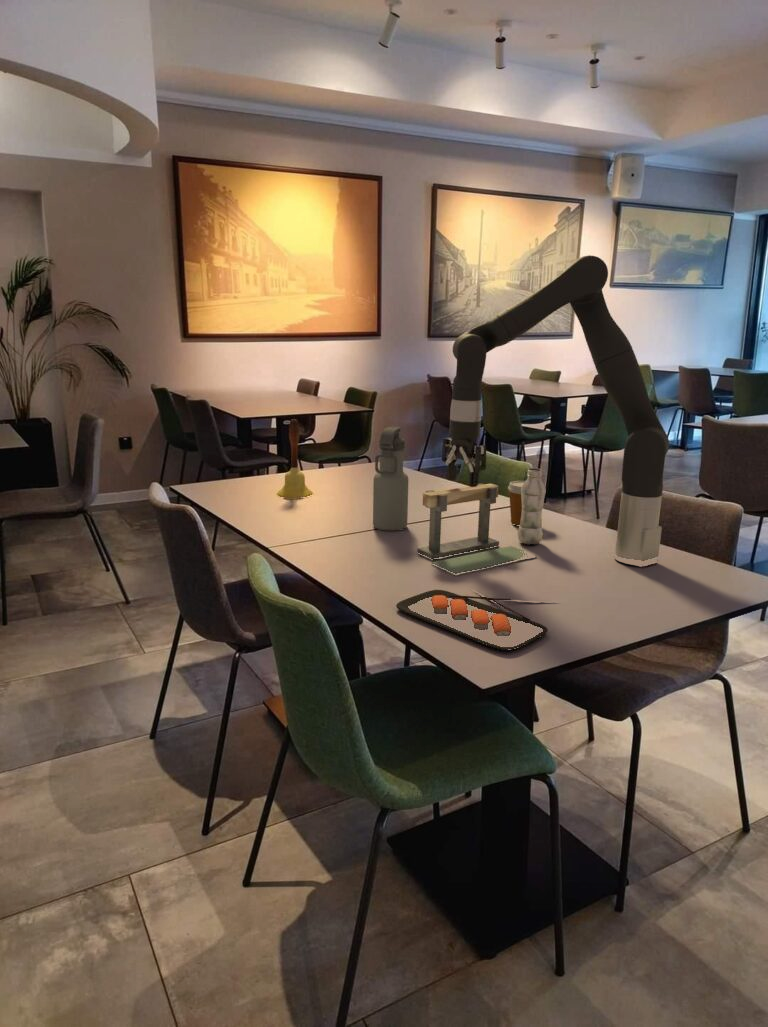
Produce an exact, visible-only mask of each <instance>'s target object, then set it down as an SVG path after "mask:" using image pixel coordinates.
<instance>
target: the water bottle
mask: <svg viewBox="0 0 768 1027" xmlns="http://www.w3.org/2000/svg"><path fill="white" fill-rule="evenodd" d="M400 433H401V427H399V426H388V427H385V428H383V430H382V431H381V434H380V438H379V439H378V442H379V448H378V451H379V454H377V455H376V456H375V459H374V460H375V462H374V469H375V472H376V473H375V474H374V475H373V482H372V484H373V485H372V486H373V492H372V496H373V498H372V499H373V500H372V525H373V527H374V528H375V529H376V530H377V529H378V530H379V529H381V530H380V531H384V530H398V531H402V530H404V529H406V528H407V527H408V515H409V514H408V512H409V511H408V509H409V476H408V474H407V473H406V472H404V451H405V439H404V438H403V437H400ZM401 529H402V530H401Z"/></svg>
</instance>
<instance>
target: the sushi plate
mask: <svg viewBox="0 0 768 1027" xmlns="http://www.w3.org/2000/svg"><path fill="white" fill-rule="evenodd" d="M429 597H432V599H431V601H432V605H433V608H434V613H435V614H447V607H449V605H448V600H447V598H452V599H453V600H451V601H450V606H451V615H452V618H453V619H454V620H466V617H468V610H467V606H466V604H468V605H471V606H474V607H477V608H478V609H481V610H473V611H471V618H472V621H473V623H474V628H475V629H479V630H485V629H486V630H487V629H488V623H489V622H490V620H489V617H488V614H487V612H486V611H488V612H491V613H492V612H493V613H496V614H493V615H492V616H491V618H490V619H491V620H492V626H493V629H494V633H495V634H496V635H497V636H509V635H510V633H511V626H510V623H509V620H508V618H507V617H510V618H513V619H516V620H518V621H523V622H525V623H530V624H532V625H534V626H537V627H540V628H542V629H543V632H541V633H539V634H538V635H536V636H535V637H533V638H531V639H529V640H527V641H525V642H524V643H521V644H519V645H517V646H514V647H500V646H497V645H494V644H490V643H488V642H485V641H482V640H480V639H478V638H475V637H472V636H470V635H468V634H466V633H463V632H461V631H458V630H456V629H454V628H451V627H449V626H447V625H444V624H442V623H440V622H437V621H435V620H432V619H430V618H427V617H424V616H422V615H420V614H418V613H416V612H413V611H411V610H410V609H409V608H408V606H410V605H412V604H415V603H417V602H418V601H420V600H423V599H425V598H429ZM487 597H488V596H487ZM487 597H481V596H472V595H471V596H470V595H460V594H456V593H455V592H451V591H448V590H443V589H433V590H427V591H425V592H422V593H419V594H415V595H414V596H411V597H408V598H405V599H404V600H401V601H399V602H397V603H396V605H395V608H397V610H399V611H401V612H403V613H406V614H407V615H410V616H413V617H414V618H417V619H420V620H422V621H425V622H426V623H428V624H429V623H430V624H431V625H432V624H433V625H434V626H437V627H439V628H441V629H444V630H447V631H449V632H452V633H454V632H455V634H456V633H458V634H457V635H459V634H461V635H463V636H462V637H464V636H466V637H468V638H467V639H469V638H470V640H471V639H474V640H476V641H479V642H481V643H484V644H487V645H489V646H492V647H495V648H498V649H497V650H499V649H503V650H508V649H514V648H517V647H520V646H522V645H524V644H527V643H529V642H531V641H533V640H535V639H537V638H539V637H540V636H542V635H544V634H545V633H546V632H547V633H548V628H547V627H546V626H545V625H543V624H541V623H538V622H536V621H534V620H531V619H530V618H528V617H527V616H524V615H523V614H521V613H519V612H517V611H515V610H514V609H511V608H510V607H507V606H506V605H504V604H502V603H500V602H498V601H499V600H511V599H512V598H503V597H502V598H497V597H489V598H487ZM474 599H476V600H474ZM477 599H478V600H487V601H489V600H493V601H494V602H496V603H497V604H499V605H500V606H499V605H498V606H499V607H501V606H502V607H501V608H503V607H504V608H503V609H505V610H502V609H500V608H497V607H495V606H491V605H488V604H485V603H482V602H480V601H477ZM497 604H496V605H497ZM506 610H507V611H506ZM513 613H514V614H513ZM547 633H546V634H547ZM546 634H545V635H546ZM461 635H460V636H461ZM545 635H544V636H545ZM466 637H465V638H466ZM542 637H543V636H542ZM540 638H541V637H540ZM540 638H539V639H540ZM474 640H473V641H474ZM537 640H538V639H537ZM476 641H475V642H476ZM535 641H536V640H535ZM479 642H478V643H479ZM533 642H534V641H533ZM481 643H480V644H481ZM531 643H532V642H531ZM484 644H483V645H484ZM529 644H530V643H529ZM487 645H486V646H487ZM527 645H528V644H527ZM489 646H488V647H489ZM492 647H491V648H492ZM495 648H494V649H495ZM520 648H521V647H520ZM503 650H502V651H503Z"/></svg>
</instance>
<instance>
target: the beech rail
mask: <svg viewBox="0 0 768 1027" xmlns="http://www.w3.org/2000/svg"><path fill="white" fill-rule="evenodd" d="M490 487H496V488H497V494H496V498H499V487H500V486H499V485H496V484H494V483H487V484H486V483H484V485H478V486H476V487H470V486H464V487H457V488H450V489H443V490H436V491H435V490H434V491H435V492H428V493H426V492H422V506H423V507H425V506H426V507H425V508H427V507H429V508H428V509H430V508H432V507H437V502H438V495H441V494H446V495H447V506H450V505H455V504H456V505H457V504H462V503H469V502H477V501H479V500H483V499H487V492H488V488H490Z"/></svg>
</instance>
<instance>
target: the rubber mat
mask: <svg viewBox="0 0 768 1027" xmlns="http://www.w3.org/2000/svg"><path fill="white" fill-rule="evenodd" d="M520 551H521V552H520ZM522 551H523V553H522ZM524 551H525V550H524V549H521V548H517V547H515V546H512V545H510V546H509V545H508V546H505V547H500V548H499V547H498V548H494V549H489V550H484V551H482V552H481V551H479V552H474V553H470V554H465V555H460V556H457V557H456V556H455V557H452V558H451V557H450V558H448V559H447V558H445V559H443V560H442V559H441V560H438V561H437V560H436V561H431V565H432V564H435V565H437V566H439V567H441V568H444V569H446V570H448V571H450V572H453V573H455V574H457V573H461V572H467V571H472V570H477V569H482V568H487V567H491V566H494V565H498V564H502V563H506V562H510V561H514V560H517V559H520V558H521V557H523V554H524V556H525V553H524ZM526 555H527V553H526ZM527 557H528V556H527Z"/></svg>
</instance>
